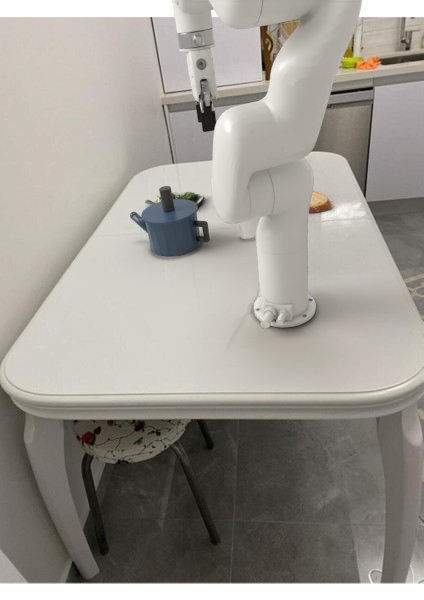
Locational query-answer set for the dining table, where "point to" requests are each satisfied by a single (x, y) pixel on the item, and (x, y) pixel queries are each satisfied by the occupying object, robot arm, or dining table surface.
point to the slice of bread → (319, 203)
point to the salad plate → (191, 196)
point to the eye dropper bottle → (249, 229)
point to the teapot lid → (169, 209)
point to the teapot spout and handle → (203, 224)
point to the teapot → (173, 237)
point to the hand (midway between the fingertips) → (207, 125)
